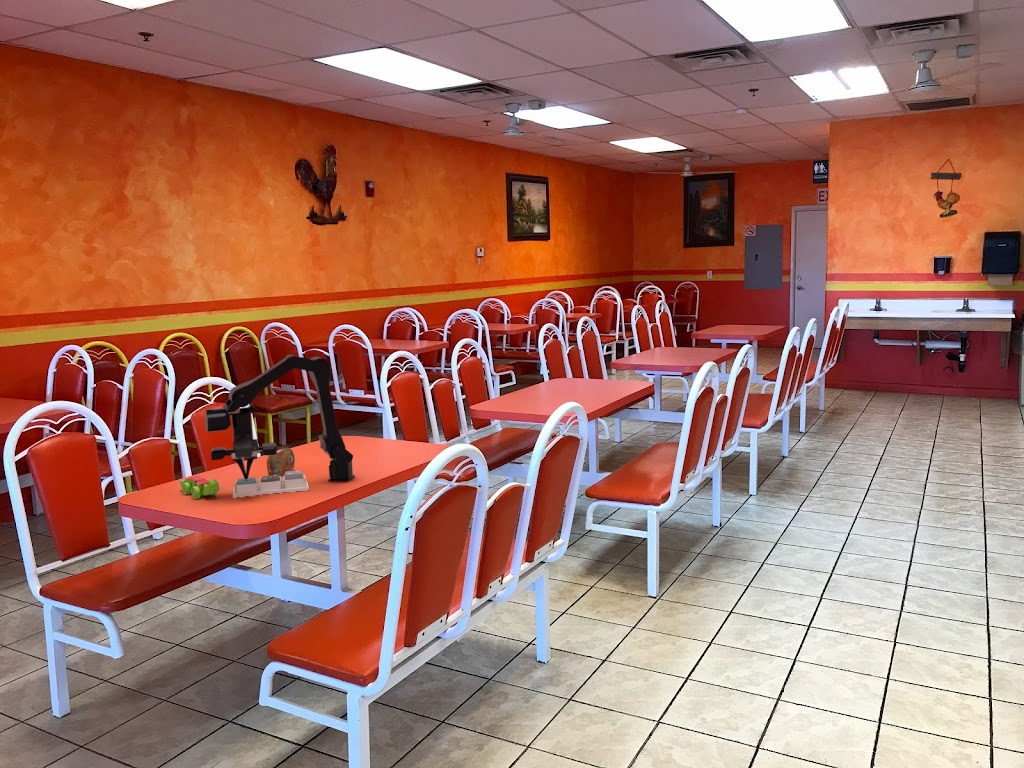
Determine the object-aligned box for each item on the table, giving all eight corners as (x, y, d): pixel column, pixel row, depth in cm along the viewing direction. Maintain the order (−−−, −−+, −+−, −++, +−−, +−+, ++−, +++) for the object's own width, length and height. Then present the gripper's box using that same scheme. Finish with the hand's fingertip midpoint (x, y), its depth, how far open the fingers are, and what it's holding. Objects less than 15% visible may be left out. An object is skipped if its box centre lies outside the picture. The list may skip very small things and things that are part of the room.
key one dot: (255, 484, 257) (254, 476, 257) (255, 488, 252) (254, 480, 252) (238, 486, 256) (237, 478, 255) (237, 490, 251) (237, 481, 251)
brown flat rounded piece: (275, 481, 268) (273, 455, 267) (266, 481, 269) (264, 455, 268) (296, 470, 283) (294, 445, 282) (287, 469, 284) (285, 445, 283)
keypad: (307, 483, 263) (306, 472, 263) (308, 490, 255) (308, 479, 254) (233, 490, 257) (233, 479, 257) (232, 498, 249) (232, 486, 248)
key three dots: (279, 482, 259) (278, 474, 259) (279, 486, 254) (278, 477, 254) (262, 484, 258) (261, 475, 257) (262, 488, 253) (261, 479, 252)
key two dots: (302, 477, 261) (301, 469, 260) (302, 481, 256) (302, 473, 256) (285, 479, 259) (285, 471, 259) (286, 483, 255) (285, 474, 254)
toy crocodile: (176, 491, 260) (175, 472, 259) (197, 487, 264) (196, 468, 263) (201, 503, 245) (199, 482, 244) (223, 498, 249) (221, 478, 249)
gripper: (207, 435, 241) (212, 488, 243) (275, 430, 246) (278, 482, 249) (210, 429, 252) (214, 479, 254) (274, 424, 257) (278, 473, 259)
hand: (246, 479), depth 254 cm, fingers closed, pressing on key one dot
